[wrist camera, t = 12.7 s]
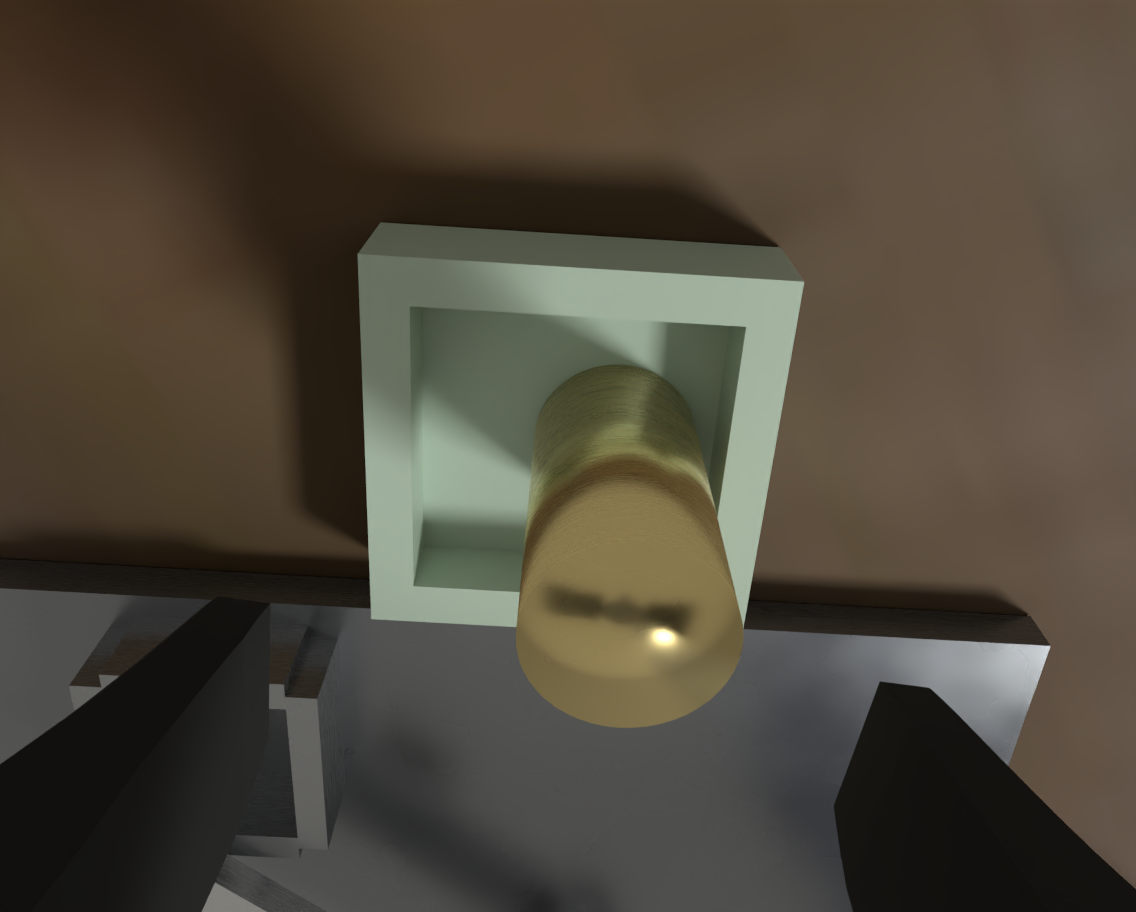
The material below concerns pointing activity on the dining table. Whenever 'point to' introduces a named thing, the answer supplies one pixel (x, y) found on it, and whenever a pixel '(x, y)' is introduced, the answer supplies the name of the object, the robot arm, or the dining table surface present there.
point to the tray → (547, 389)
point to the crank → (252, 892)
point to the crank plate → (520, 743)
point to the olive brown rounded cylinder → (623, 556)
